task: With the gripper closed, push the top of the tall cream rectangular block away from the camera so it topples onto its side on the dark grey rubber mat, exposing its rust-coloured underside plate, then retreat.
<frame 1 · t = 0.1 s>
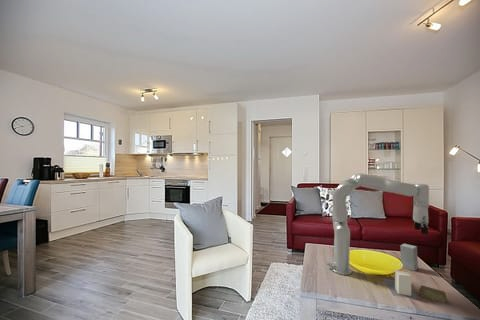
hand: (420, 231, 145), 31 cm above the table, fingers open, 9 cm apart
skincare box: (408, 268, 164), on the table
cream rectangular block: (402, 292, 132), resting on rubber mat
rubber mat: (399, 288, 136), on the table
stone block: (432, 298, 127), on the table
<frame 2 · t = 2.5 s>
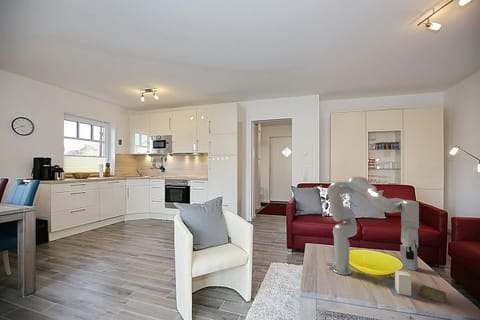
hand: (409, 258, 123), 23 cm above the table, fingers closed
nothing on the table moved.
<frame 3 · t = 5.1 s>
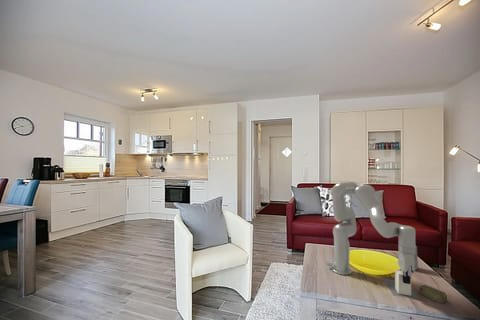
hand: (406, 282, 127), 8 cm above the table, fingers closed
cream rectangular block: (402, 292, 132), resting on rubber mat, touching gripper
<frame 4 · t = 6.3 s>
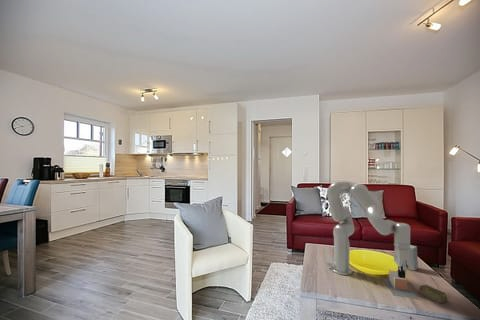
hand: (401, 277, 133), 8 cm above the table, fingers closed
cream rectangular block: (400, 284, 134), point 3 cm above the table, tilted 90°, touching rubber mat
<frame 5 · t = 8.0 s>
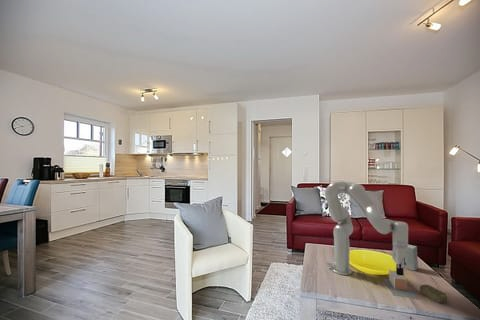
hand: (399, 274, 136), 8 cm above the table, fingers closed
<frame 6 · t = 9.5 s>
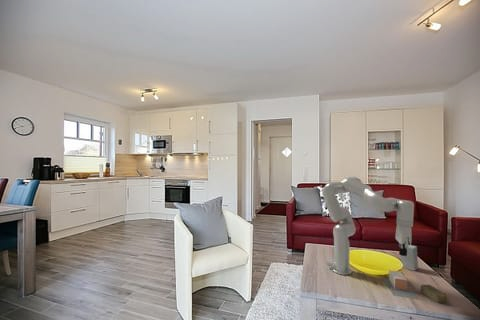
hand: (402, 255, 131), 22 cm above the table, fingers closed
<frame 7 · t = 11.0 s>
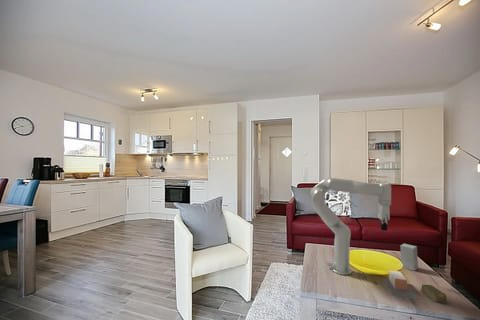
hand: (383, 229, 155), 29 cm above the table, fingers closed
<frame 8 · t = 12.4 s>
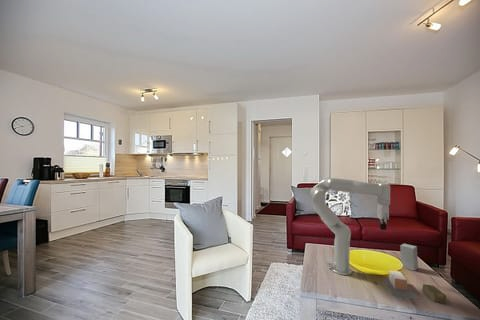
hand: (383, 229, 156), 29 cm above the table, fingers closed
at the end: cream rectangular block tilted 90°; cream rectangular block inside the target area (5.6 cm from its centre), point 3.3 cm above the table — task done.
